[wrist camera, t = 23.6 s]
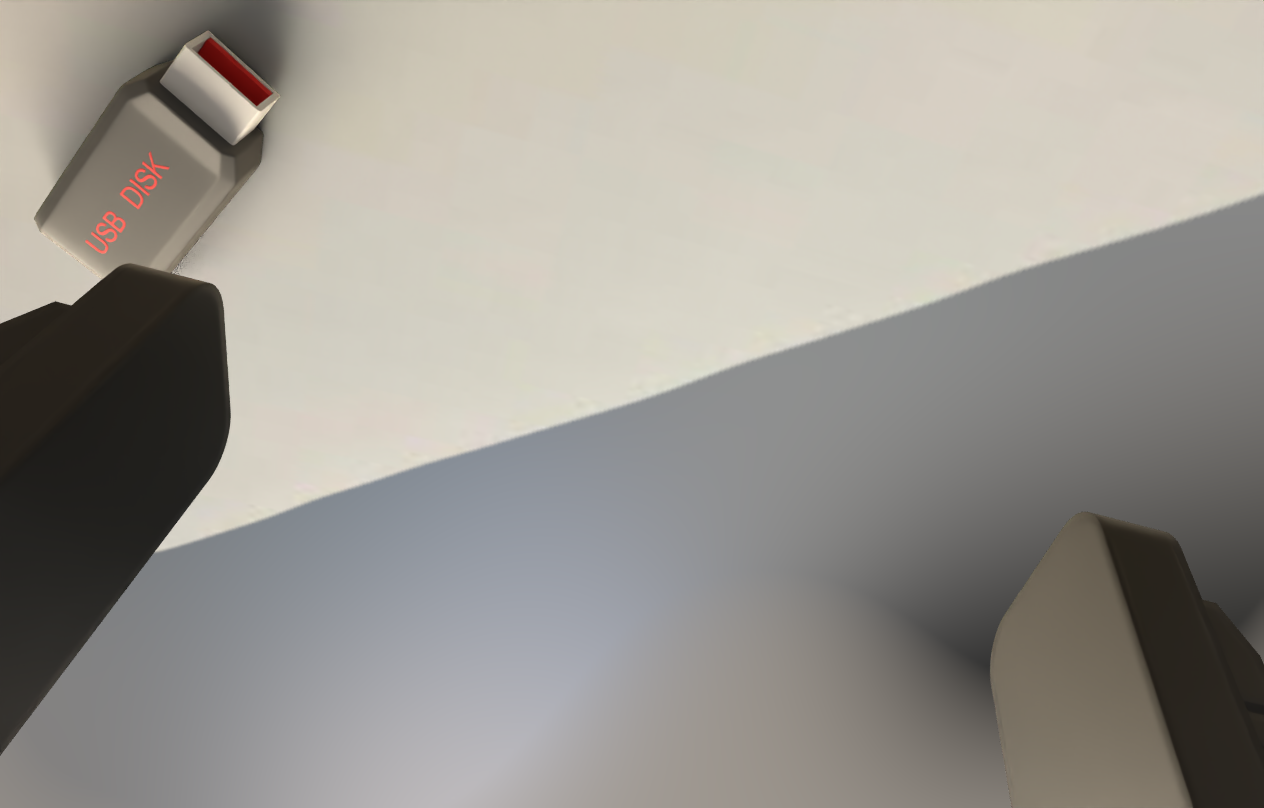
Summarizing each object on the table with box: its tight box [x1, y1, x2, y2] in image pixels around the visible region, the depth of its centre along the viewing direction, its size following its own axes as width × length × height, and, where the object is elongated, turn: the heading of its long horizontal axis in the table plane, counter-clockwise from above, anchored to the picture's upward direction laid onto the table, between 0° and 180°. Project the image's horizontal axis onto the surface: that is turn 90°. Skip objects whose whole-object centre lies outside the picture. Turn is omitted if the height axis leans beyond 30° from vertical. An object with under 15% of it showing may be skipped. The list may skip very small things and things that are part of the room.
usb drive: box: [34, 31, 280, 279], centre depth 39 cm, size 5×12×3 cm, turn 135°
